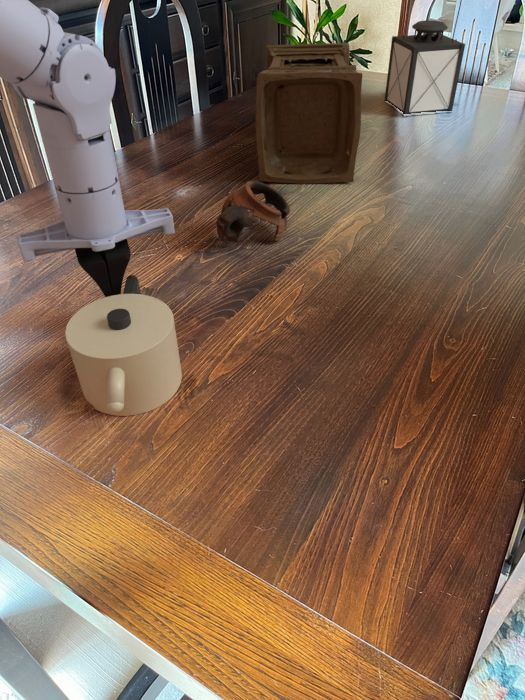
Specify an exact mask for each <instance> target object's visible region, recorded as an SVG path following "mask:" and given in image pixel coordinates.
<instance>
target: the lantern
mask: <svg viewBox="0 0 525 700" xmlns="http://www.w3.org/2000/svg"><path fill="white" fill-rule="evenodd" d="M462 1H463V0H460V1H459V8H458V11H457V15H456V19H455V24H454V29H453V33H452V38H451V37H450V36H447V35H444V32H445V31H446V30H448V28H449V27H448V25H447V24H446V23H445V22H443V21H441V20H419V21H417V22H415V23H414V24H412V27H411V28H412V29H414V34H410V35H405V31H406V25H407V19H408V13H409V12H408V11H409V6H410V0H407V5H406V12H405V20H404V27H403V34H402V35H393V36H391V43H390V52H389V61H388V68H387V76H386V83H385V85H386V86H385V92H384V101H388V102H389V103H391V104H392V105H394V106H395V107H396V108H398V109H399V110H400V111H402V112H403V114H411V113H421V112H436V111H452V112H453V109H454V103H455V99H456V95H457V88H458V83H459V78H460V72H461V69H462V64H463V57H464V53H465V49H466V43H464V42H461V41H459V40H456V39H455V38H454V36H455V33H456V28H457V24H458V20H459V16H460V10H461V7H462Z"/></svg>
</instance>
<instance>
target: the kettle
mask: <svg viewBox="0 0 525 700" xmlns="http://www.w3.org/2000/svg"><path fill="white" fill-rule="evenodd" d="M124 283H125V284H124V288H123V292H122V293H121V294H119V295H113V296H109V297H105V296H104V297H102V298H99V299H96V300H94V301H92V302H90V303H88V304H86V305H85V306H82V307H81V308H80V309H78V310H77V311H76V312H75V313H74V314H73V315H72V316H71V317H70V319H69V320H68V321H67V324H66V327H65V331H64V332H65V333H64V336H65V340H66V344H67V348H68V351H69V353H70V356H71V359H72V362H73V365H74V369H75V372H76V375H77V378H78V381H79V385H80V389H81V391H82V394H83V397H84V399H85V400H86V401H87V402H88V403H89V404H90V405H91V406H92V408H93V409H95V410H96V411H98V412H100V413H103V414H106V415H110V416H116V417H129V416H130V417H131V416H136V415H141V414H145V413H148V412H151V411H153V410H156V409H158V408H159V407H161V406H162V405H164V404H166V403H167V402H168V401H170V400H171V398H173V397H174V395H175V394H176V393H177V392H178V390H179V388H180V386H181V383H182V379H183V371H182V365H181V359H180V358H181V357H180V352H179V344H178V338H177V332H176V325H175V318H174V317H175V316H174V313H173V312H172V310H171V308H170V306H169V305H168V304H166V303H165V302H164V301H162V300H161V299H160V298H159V299H158V298H156V297H154V296H150V295H147V294H142V293H141V287H140V283H139V278H138V276H137V275H135V274H129V275H128V276H127V277H126V280H125V282H124Z"/></svg>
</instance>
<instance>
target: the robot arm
mask: <svg viewBox="0 0 525 700" xmlns="http://www.w3.org/2000/svg"><path fill="white" fill-rule="evenodd" d="M59 18H60V17H59V15H58V14H57V13H55V12H54V11H52V10H51V9H50V8H47V7H38V6H36V5H35V4H34V3H33V2H31V1H30V0H0V78H1V79H2V80H4V81H6V82H7V83H9V84H11V85H12V87H13V89H14V90H15V92H16V93H17V94H18V95H19V97H21V98H22V99H23V100H30V101H33V102H34V103H32V107H33V110H34V115H35V118H36V122H37V125H38V129H39V133H40V137H41V141H42V144H43V145H42V146H43V148H44V152H45V156H46V159H47V162H48V167H49V170H50V171H49V172H50V174H51V178H52V182H53V187H54V189H55V193H56V197H57V201H58V205H59V209H60V213H61V216H62V221H58V222H56V223H54V224H50V225H48V226H47V225H46V226H45V227H42V228H41V227H40V228H38V229H35V230H32V231H28V232H24V233H23V232H22V233H20V234H19V233H17V235H16V237H17V245H18V248H19V251H20V254H21V258H22V260H23V262H24V263H27V262H31V261H35V260H36V259H37V257H39V256H44V255H51V254H56V253H61V252H67V251H72V250H74V251H75V256H76V260H77V262H78V263H77V264H79V266H80V267H81V269H82V270H83V271H84V272H85V273H86V274H87V275H88V276H89V277H90V278H91V279H92V280H93V281H94V283H95V284H96V285H97V286H98V288H99V289H100V291H101V292H102V294H103V295H104V298H105V297H109V296H113V295H119V294H122V286H123V281H124V278H125V277H124V276H125V273H126V271H127V267H128V266H129V263H130V260H131V254H132V253H131V247H130V245H129V241H128V240H129V239H135V238H141V237H145V236H151V235H157V234H162V233H163V235H165V236H168V235H173V234H176V231H175V224H174V216H173V214H172V212H171V211H170V209H169V207H165V208H158V209H134V210H133V209H132V210H131V209H129V210H126V209H125V203H124V198H123V194H122V193H123V192H122V188H121V183H120V178H119V177H120V176H119V173H118V168H117V162H116V155H115V151H114V150H115V149H114V145H113V140H112V134H111V129H110V128H111V126H110V125H111V124H112V123H113V121H112V117H111V116H112V115H111V102H112V100H113V97H114V95H115V91H116V83H117V82H116V80H117V78H116V77H117V76H116V69H115V68H114V67H113V68H112V67H111V66H109V63H108V61H107V58H106V57H105V56H104V52H103V51H102V49H101V48H100V47H99V46H98V44H97V43H95V42H94V40H92V39H90V38H89V37H87V36H84V35H81V34H75V33H71V32H65V31H64V30H63V28H62V26H61V25H60V24H59V20H60V19H59Z"/></svg>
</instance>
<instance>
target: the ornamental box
mask: <svg viewBox="0 0 525 700" xmlns="http://www.w3.org/2000/svg"><path fill="white" fill-rule="evenodd" d="M265 52H266V53H265V68H266V70H262V71H261V72H260V71H259V73H257V75H256V97H255V145H256V154H257V163H258V178H257V181H258V182H262V183H265V182H267V183H279V184H298V185H299V184H300V185H309V184H312V185H314V184H327V183H328V184H330V183H354V181H355V168H356V160H357V155H358V149H359V143H360V138H361V127H362V87H363V85H362V84H363V73H362V72H358V71H357V65H356V64H350V58H351V57H350V55H351V54H350V52H351V50H350V43H348V42H334V43H329V42H328V43H296V44H295V43H293V44H292V43H290V44H275V45H274V44H271V45H270V44H266V45H265Z"/></svg>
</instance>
